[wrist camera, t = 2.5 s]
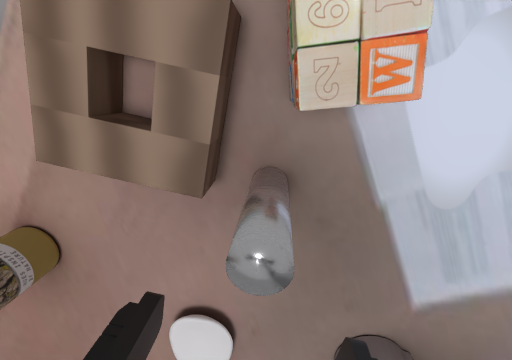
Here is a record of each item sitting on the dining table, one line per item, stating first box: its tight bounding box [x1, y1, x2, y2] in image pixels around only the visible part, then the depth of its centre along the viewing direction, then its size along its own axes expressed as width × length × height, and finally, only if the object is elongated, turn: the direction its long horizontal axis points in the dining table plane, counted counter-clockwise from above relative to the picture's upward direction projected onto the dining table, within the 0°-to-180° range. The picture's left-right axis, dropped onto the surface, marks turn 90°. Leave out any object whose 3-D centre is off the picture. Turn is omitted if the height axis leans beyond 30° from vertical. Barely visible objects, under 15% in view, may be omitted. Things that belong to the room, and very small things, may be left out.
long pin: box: [226, 167, 294, 296], centre depth 21 cm, size 4×4×14 cm
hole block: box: [20, 0, 241, 198], centre depth 23 cm, size 16×16×5 cm
